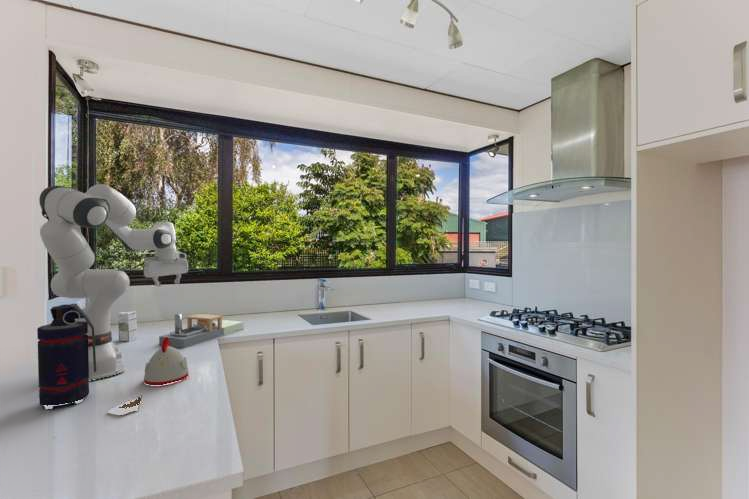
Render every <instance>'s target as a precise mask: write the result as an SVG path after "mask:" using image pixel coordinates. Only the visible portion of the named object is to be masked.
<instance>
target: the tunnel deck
mask: <svg viewBox="0 0 749 499" xmlns="http://www.w3.org/2000/svg"><path fill="white" fill-rule="evenodd" d="M186 319H187V323H186V324H187V326H186V327H187V328H189V327H193V320H196V322H197V321H198V320H207V321H208V330H206V331H202V332H199V333H195V334H192V335H188V336H177V335H170V333H166V334H163V335H160V336H159V338H158V339H159V340H158V341H159V344H158V345H159V346H161V345H163V340H164V339H165V338H166V337H168V339H169V341H171V343H170V347H173V348H181V349H184V348H188V347H191V346H193V345H194V346H195V345H197V344H201V343H204V342H206V341H210V340H214V339H216V337H217V338H219V336H220V337H222V336H221V335H223V336H226V335H229V334H232V333H234V331H235V332H238V331H237V330H239V331H241V329H242V330H244V328H245V327H244V326H245V325H244V321H239V320H238V321H236V320H229V319H228V320H226V319H223V315H217V314H215V315H214V314H208V313H207V314H206V313H205V314H204V313H203V314H202V313H197V314H193V315H188V316H186ZM215 320H217V321H215ZM212 322H214V323H216V325H218V327H216V328H213V329H212ZM197 330H200V329H191V330H187V331H184V332H182V333H185V334H186V333H190V332H193V331H197ZM231 332H232V333H231ZM228 333H229V334H228ZM225 334H226V335H225Z"/></svg>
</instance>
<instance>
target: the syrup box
mask: <svg viewBox="0 0 749 499" xmlns="http://www.w3.org/2000/svg"><path fill="white" fill-rule="evenodd" d="M117 315H118V316H117V320H118V322H117V323H118V342H133V341H134V340H135V341H136V340H137V339H138V329H137V323H138V321H137V311H136V310H126V311H125V310H124V311H121V312H118V314H117Z"/></svg>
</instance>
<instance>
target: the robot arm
mask: <svg viewBox="0 0 749 499" xmlns="http://www.w3.org/2000/svg"><path fill="white" fill-rule="evenodd" d="M38 200H39V207H40V208H41V215H42V217H43V218H44V219H46V220H48V221H46V222H44V224H42V225H41V226H40V229H39V235H40V239H41V241H42V243H43V245H44V248H45V249H46V251H47V252H48V254H49V256H50V257H51V259H52V260H53V261H54V264H55V265H56V266H57V269H58V272H56V273H55V274H54V275H53V276H52V279H51V281H50V288H51V291H52V293H53V294H54V295H55V296H57V297H59V298H61V297H62V298H66V299H67V298H68V299H88V298H89V302H88V305H87V306H86V307H83V308H81V309H82V311H83V312H84V313H85V314H86V315H87V316H88V318H89V319H90V321H91V322H92V324H93V325H94V335H95V353H96V372H94V364H93V346H92V329H91V327H90V326H89V324H88V333H87V335H88V358H89V378H88V380H93V379H99V378H103V379H105V378H104V377H108V376H111V377H113V376H112V375H115V376H117V375H116V374H118V375H120V374H119V373H121V374H123V373H125V369H124V364H123V361H122V360H121V359H122V352H119V348H118V347H116V343H115V342H113V334H112V330H111V313H112V309H113V307H114V305H115V303H116V302H117V300H118V299H119V298H121V297H122V296H123V295H125V293H126V292H127V291H128V290H129V288H130V284H131V281H130V277H129V274H127V273H126V272H125V271H123V270H118V269H111V268H107V269H103V268H102V269H101V268H100V269H97V268H96V269H94V268H93V269H92V268H91V267H92V266H93V265H94V263H95V260H96V257H95V253H94V252H93V250H92V248H91V247H90V245H89V243H88V241H87V239H86V238H85V236H84V235H83V233H82V229H81V228H86V229H95V228H98V227H100V226H102V225H103V224H104V226H105V227H106V228H107V229H108V230H109V231H110V232H111V233H112V234H113V236H115V237H116V238H117V239H118V240H119V241H120V242H121V245H122V246H123V248H125V249H126V250H127V251H129V252H137V251H154V256H148V257H146V258H145V259H144V261H143V262H144V263H143V264H144V267H143V277H145V278H152V280H153V283H155V284H154V286H155V287H161V286H162V285H161V281H159V280H158V279H159V277H165V276H166V277H167V276H174V275H175V276H176V278H175V279H174V282H173V283H174V284H176V285H177V284H180V280H181V278H182V274H187V273H188V272H189V263H188V259H187V256H188V255H187V254H186V253H183V252H180V251H177V247H176V240H177V237H176V230H175V225H174V223H173V222H171V221H166V220H159V221H155V222H154V226H152V227H151V228H131V227H129V225H130V224H131V223H132V222H133V221H134V220H135V218H136V215H137V209H136V207H135V205H134V203H133V202H132V201H130V200H129V199H128V198H127V197H126V196H124V194H122V193H121V192H119V191H117V190H116V189H115V188H113V187H111V186H109V185H107V184H102V183H100V184H94V185H92V186H91V187H89V188H88V189H87V190H86V192H82V191H80V190H77V189H73V188H69V186H68V187H67V186H62V185H50V186H48V187H46V188H45V189H43V190H42V191H41V193H40V195H39V198H38ZM77 320H78V319H75V321H77ZM79 321H84V322H87V321H86V320H85V318H80V319H79ZM122 372H123V373H122ZM108 378H109V377H108ZM99 380H100V379H99Z"/></svg>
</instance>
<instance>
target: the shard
mask: <svg viewBox="0 0 749 499" xmlns="http://www.w3.org/2000/svg"><path fill="white" fill-rule="evenodd" d="M140 396H141V398H140ZM140 396H137V397H138V400H137V399H136V400H135V401H134V402H130V404H127V405H126V404H124V405H123V406H122V407H119V408H125V407H126V408H127V407H129V408H130V407H133V406H136V404H137V405H139V404H140V401H141V402H142V398H143V395H142V394H141V395H140ZM138 403H139V404H138ZM140 405H141V404H140ZM126 408H125V409H126Z"/></svg>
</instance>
